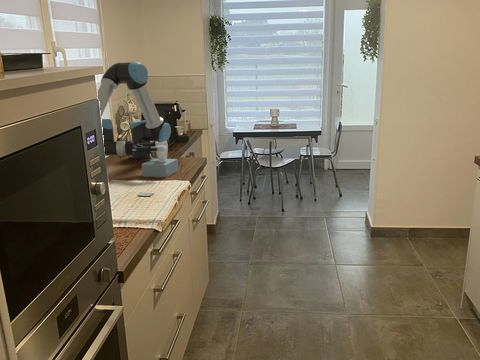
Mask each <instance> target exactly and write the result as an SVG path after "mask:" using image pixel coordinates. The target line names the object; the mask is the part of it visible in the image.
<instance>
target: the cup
mask: <svg viewBox="0 0 480 360" xmlns="http://www.w3.org/2000/svg"><path fill="white" fill-rule="evenodd" d="M162 146H164V145H162ZM156 147H159V146H156ZM168 150H169V146H164V152H155V153H156V157H157V159H158V160H159V162H166V159H168ZM150 158H151V160H152V159H154V158H155V157H151V154H150ZM154 160H155V159H154ZM155 161H157V160H155Z"/></svg>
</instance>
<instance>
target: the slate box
mask: <svg viewBox="0 0 480 360" xmlns="http://www.w3.org/2000/svg"><path fill="white" fill-rule="evenodd" d="M153 158H154V159H155V160H157V161H155V160H154V159H152V158H151V159H150V160H148V161H146V162H143V163H142V164H141V172H142V177H146V178H147V177H151V178H153V177H154V178H168V177H170V176H171V175H174V174H175V173H177V172H179V162H178V161H179V160H178V159H177V158H167V159H166V162H159V160H158V158H155V157H153Z"/></svg>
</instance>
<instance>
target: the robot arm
mask: <svg viewBox="0 0 480 360" xmlns="http://www.w3.org/2000/svg"><path fill="white" fill-rule="evenodd" d="M148 80H149V72H148V69H147V67H146V66H145V65H144V64H143V63H142V62H137V61H132V62H129V61H128V62H116V63H114V64H112V65H111V66H110V67H108V68H107V69H106V71H105V72H104V73H103V75H102V76H101V80H100V85H99V87H98V89H97V91H98V99H99V101H100V110H101V117H102V116H103V114H104V112H105V110H106V107H107V106H108V103H109V101H110V99H111V97H112V96H113V92H114V91H115V90H116V89H117V88H118V86H120V85H121V84H122V85H123V84H125V85H126V87H127V89H128V90H130V91H132V94H133V96H134V97H135V100H136V103H137V105H138V106H139V108H140V111H141V113H142V115H143V118H144V120H139V121H132V122H131V124H130V134H131V135H130V136H131V140H126V141H125V140H116V141H115V136H114V132H115V131H114V126H113V120H112V119H111V118H101V119H102V127H103V135H104V147H105V155H106V156H105V157H108V156H120V157H122V156H126V155H127V156H130V158H131V159H133V160H134V159H136V160H137V159H139V160H141V159H149V158H151V157H152V158H154V157H155V153H156V152H164V146H168V141H169V139H170V137H171V133H172V128H171V124H169V123H168V122H165V121H164V118H163V117H161V116H160V115H159V112H158V111H157V108H156V105H155V103H154V101H153V99H152V95H151V93H150V91H149V89H148V86H147V84H148ZM162 145H164V146H162ZM156 146H159V147H156ZM168 147H169V146H168ZM150 154H151V157H150Z"/></svg>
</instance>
